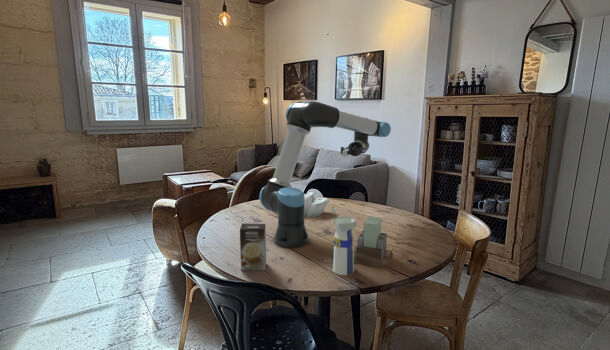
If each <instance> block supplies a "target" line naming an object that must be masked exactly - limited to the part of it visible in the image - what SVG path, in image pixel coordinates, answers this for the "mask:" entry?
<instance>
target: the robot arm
mask: <svg viewBox="0 0 610 350" xmlns="http://www.w3.org/2000/svg"><path fill="white" fill-rule="evenodd" d="M285 118H286V122H287V123H286V128H287V133H286V136H285V139H284V142H283V144H282V145H283V146H282V148H281V151H280V154H279V158H278V161H277V164H276V167H275V170H274V173H273V176H272V178H270V179H268V182H267V184H266V185H265V186H263V187H262V188H261V189H260V192H259V201H260V204H261V206H262V207H263V208H264V209H266V210H267V211H270V212H272V213H274V214H277V222H278V224H277V227H276V231H275V234H274V244H276V245H278V246H279V247H282V248H300V247H303V246H305V245H307V244H308V242H309V234H308V232H307V231H308V230H307V229H306V225H305V217H304V202H305V199H304V194H305V193H304V192H303V191H302V190H300V189H299V188H296V187H292V184H291V181H292V179H293V176H294V172H295V169H296V165H297V163H298V159H299V156H300V153H301V151H302V147H303V144H304V141H305V138H306V136H307V135H309V134H310V132H311V130H312V128H329V129H333V128H337V129H342V130H348V131H351V132H353V133H354V134H353V136H354V137H353V142H350V143H349V144H348V146H347V147H345V146H340V154H341V157H345V158H346V157H348V156H352V157H358V156H360V155H361V154H365V153H366V152H368V150H369V148H370V143H369V137H376V138H377V137H378V138H379V137H380V138H386V137H388V136H390V134H391V130H392V128H391V125H390V123H389V122H385V121H378V120H374V119H370V118H368V117H363V116H360V115H355V114H353V113H348V112H346V111H345V112H344V111H343V110H342V111H341V110H339V109H338V107H335V106H332V105H328V104H325V103H323V102H320V101H313V100H311V101H296V102H293V103H291V104H290V105H289V106H288V107H287V109H286V112H285Z"/></svg>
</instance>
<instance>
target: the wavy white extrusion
mask: <svg viewBox="0 0 610 350" xmlns="http://www.w3.org/2000/svg"><path fill="white" fill-rule="evenodd" d="M304 199H305V202H304V218H305V217H306V218H316V217H319V216H321V215H322V214H323V212H324V211H325V209H326V207H327V206H328V204H329V202H330V199H329V198H327V197H316V192H313V191H312V192H311V191H310V192H309V191H308V193H307V194H306V193H304Z"/></svg>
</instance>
